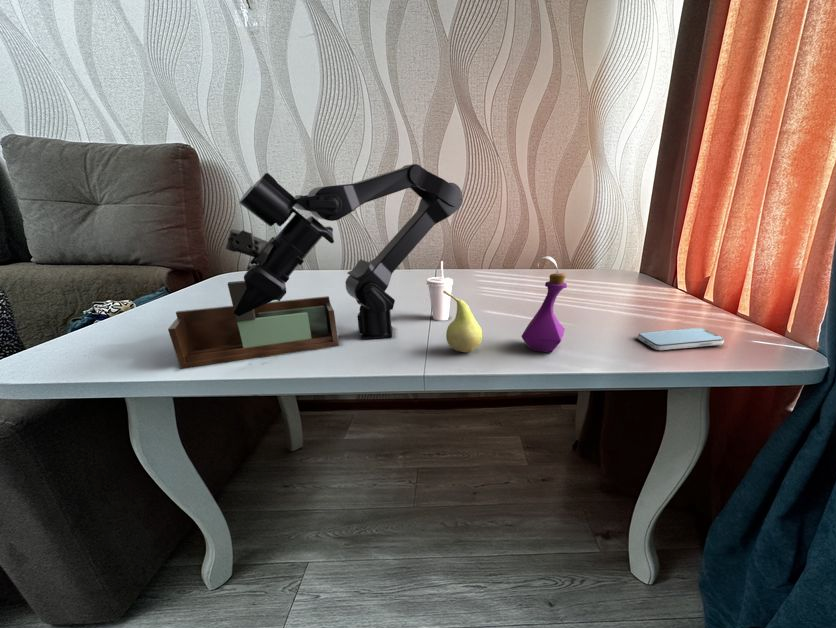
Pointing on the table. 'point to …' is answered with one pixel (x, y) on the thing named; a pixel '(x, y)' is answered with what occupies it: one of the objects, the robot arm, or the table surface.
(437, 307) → the smoothie
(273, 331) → the green grey l-shaped block
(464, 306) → the fruit
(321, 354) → the table surface
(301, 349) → the brown wooden box
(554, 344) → the perfume bottle
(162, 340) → the table surface
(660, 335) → the smartphone
